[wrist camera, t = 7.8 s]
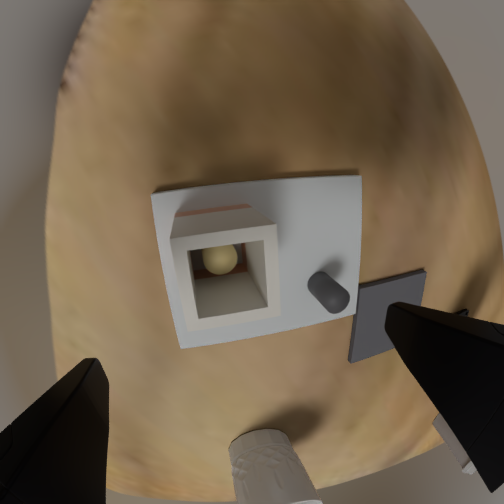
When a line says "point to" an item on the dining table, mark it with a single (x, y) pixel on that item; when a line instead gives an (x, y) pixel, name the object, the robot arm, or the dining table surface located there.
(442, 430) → the coffee cup
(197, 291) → the sleeve
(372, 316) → the mat
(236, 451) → the white cup
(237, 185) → the pin board
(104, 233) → the dining table surface
